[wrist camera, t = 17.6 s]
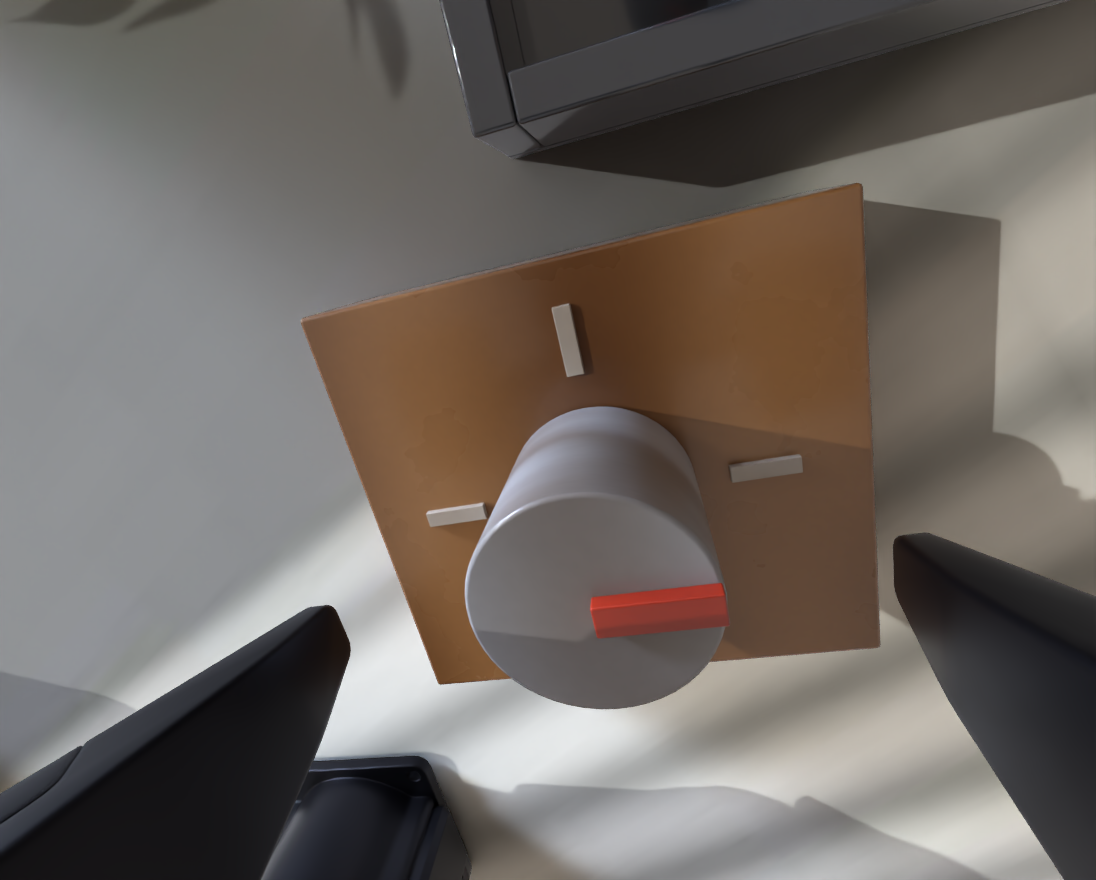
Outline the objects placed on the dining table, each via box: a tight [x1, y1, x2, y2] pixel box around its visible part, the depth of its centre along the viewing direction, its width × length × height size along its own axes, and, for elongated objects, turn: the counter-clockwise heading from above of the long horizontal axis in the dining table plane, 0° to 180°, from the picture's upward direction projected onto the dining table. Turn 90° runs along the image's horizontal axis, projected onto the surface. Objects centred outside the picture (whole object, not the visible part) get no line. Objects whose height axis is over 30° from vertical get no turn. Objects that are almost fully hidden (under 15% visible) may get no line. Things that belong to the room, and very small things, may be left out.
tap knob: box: [465, 407, 730, 709], centre depth 10 cm, size 4×4×4 cm
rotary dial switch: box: [301, 183, 880, 684], centre depth 13 cm, size 11×10×3 cm
